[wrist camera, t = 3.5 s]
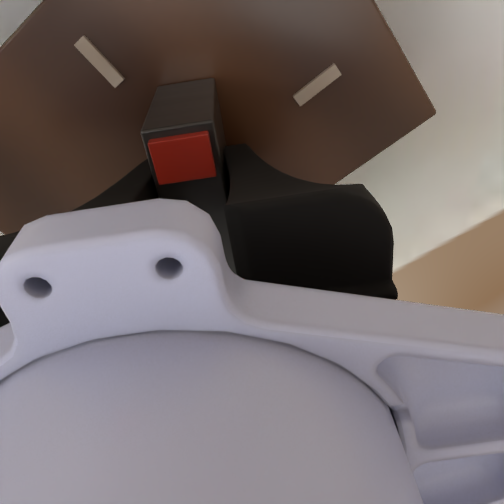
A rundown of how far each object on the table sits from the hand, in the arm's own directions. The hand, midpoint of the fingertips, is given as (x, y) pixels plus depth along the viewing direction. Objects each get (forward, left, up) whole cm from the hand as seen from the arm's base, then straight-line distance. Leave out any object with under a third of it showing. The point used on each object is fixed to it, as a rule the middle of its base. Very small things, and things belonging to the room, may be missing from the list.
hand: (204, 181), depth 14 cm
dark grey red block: (0, 0, -1) cm, 1 cm away
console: (-1, +1, -4) cm, 4 cm away
